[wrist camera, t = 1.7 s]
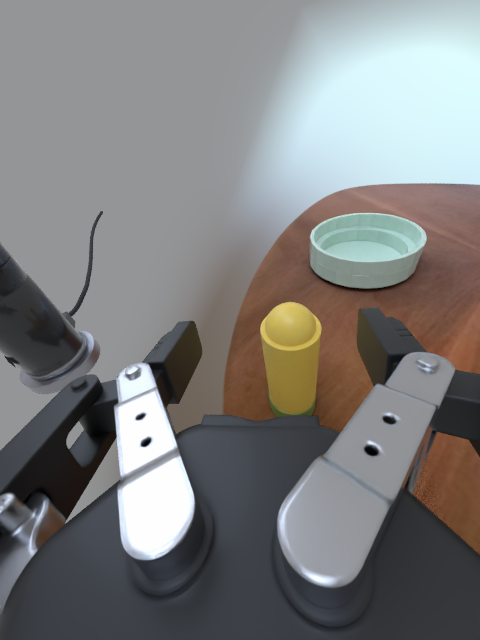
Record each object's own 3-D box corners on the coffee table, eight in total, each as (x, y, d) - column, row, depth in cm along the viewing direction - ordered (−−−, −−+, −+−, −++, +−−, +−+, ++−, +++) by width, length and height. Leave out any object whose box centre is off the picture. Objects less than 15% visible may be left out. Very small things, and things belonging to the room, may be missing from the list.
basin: (291, 259, 50) (291, 232, 46) (361, 232, 53) (366, 205, 50) (355, 306, 38) (361, 275, 34) (440, 267, 41) (454, 235, 37)
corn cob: (262, 394, 30) (245, 303, 20) (298, 375, 31) (298, 281, 21) (284, 432, 26) (277, 343, 17) (324, 409, 27) (340, 314, 18)
